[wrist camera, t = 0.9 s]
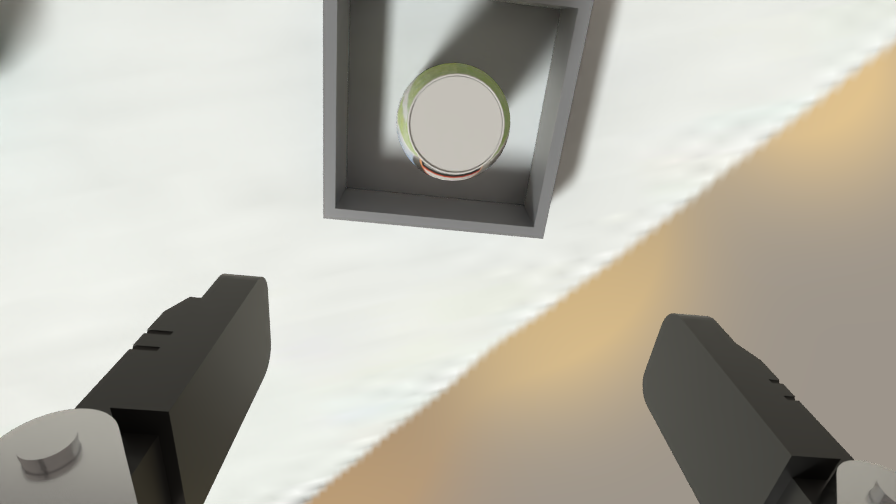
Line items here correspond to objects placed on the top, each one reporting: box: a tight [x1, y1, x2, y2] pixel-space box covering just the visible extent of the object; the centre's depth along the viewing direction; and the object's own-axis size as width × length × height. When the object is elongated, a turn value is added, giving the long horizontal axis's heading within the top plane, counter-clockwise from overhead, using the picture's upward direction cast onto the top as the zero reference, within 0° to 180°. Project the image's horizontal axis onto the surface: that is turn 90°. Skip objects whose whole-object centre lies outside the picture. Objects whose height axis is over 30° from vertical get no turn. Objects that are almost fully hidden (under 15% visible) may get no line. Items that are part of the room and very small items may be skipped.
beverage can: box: [396, 63, 510, 181], centre depth 30 cm, size 6×7×12 cm
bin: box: [323, 0, 594, 239], centre depth 33 cm, size 16×16×4 cm
